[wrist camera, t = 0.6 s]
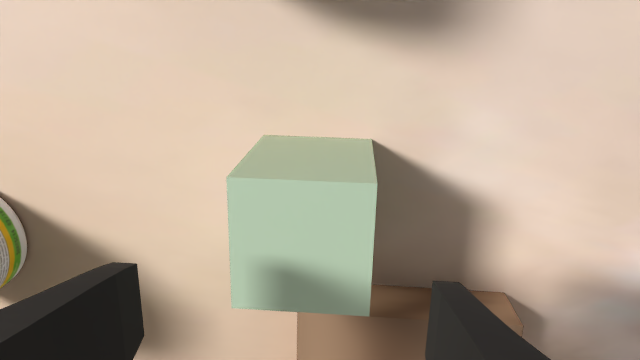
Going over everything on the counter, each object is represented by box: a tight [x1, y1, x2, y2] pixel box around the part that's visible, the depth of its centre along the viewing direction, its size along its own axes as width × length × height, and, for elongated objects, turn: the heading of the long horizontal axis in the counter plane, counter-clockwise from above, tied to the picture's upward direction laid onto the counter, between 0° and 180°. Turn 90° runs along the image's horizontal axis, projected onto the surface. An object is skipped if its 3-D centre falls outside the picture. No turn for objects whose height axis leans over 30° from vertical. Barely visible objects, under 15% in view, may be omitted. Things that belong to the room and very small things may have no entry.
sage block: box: [227, 135, 377, 316], centre depth 18 cm, size 4×4×6 cm
